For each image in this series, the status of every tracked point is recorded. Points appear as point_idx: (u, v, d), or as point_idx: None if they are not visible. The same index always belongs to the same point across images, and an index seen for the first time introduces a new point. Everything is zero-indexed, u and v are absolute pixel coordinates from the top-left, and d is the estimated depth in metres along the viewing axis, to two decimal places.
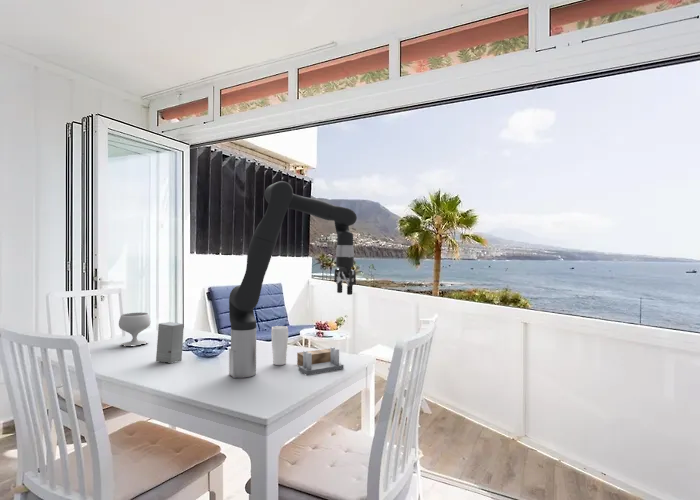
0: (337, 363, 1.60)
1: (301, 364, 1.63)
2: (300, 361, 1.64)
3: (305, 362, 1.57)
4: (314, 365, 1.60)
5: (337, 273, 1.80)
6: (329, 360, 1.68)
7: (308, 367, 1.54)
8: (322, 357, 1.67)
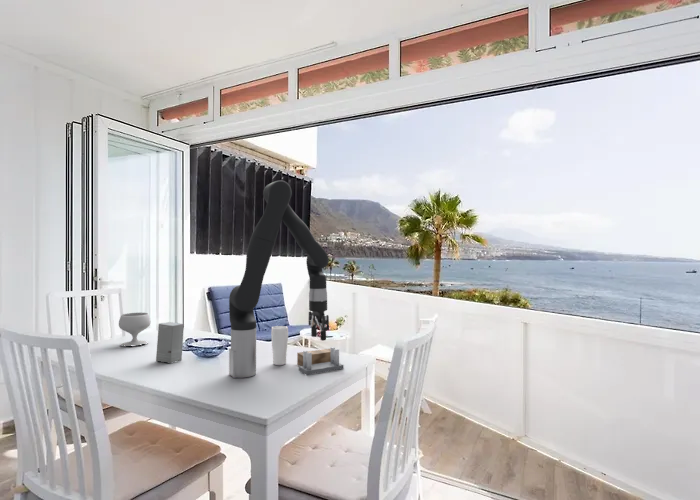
0: (337, 363, 1.60)
1: (301, 364, 1.63)
2: (300, 361, 1.64)
3: (305, 362, 1.57)
4: (314, 365, 1.60)
5: (311, 316, 1.73)
6: (329, 360, 1.68)
7: (308, 367, 1.54)
8: (323, 357, 1.67)
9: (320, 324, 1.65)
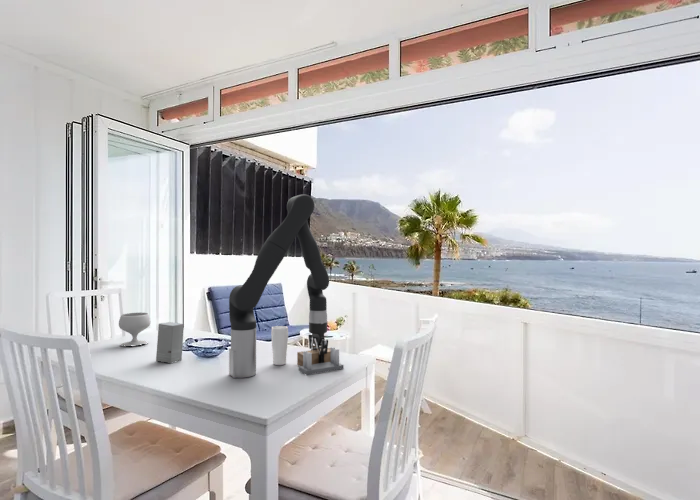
0: (337, 363, 1.60)
1: (301, 363, 1.63)
2: (300, 360, 1.64)
3: (305, 362, 1.57)
4: (314, 365, 1.60)
5: (311, 339, 1.73)
6: (329, 359, 1.68)
7: (308, 367, 1.54)
8: None
9: (319, 347, 1.65)
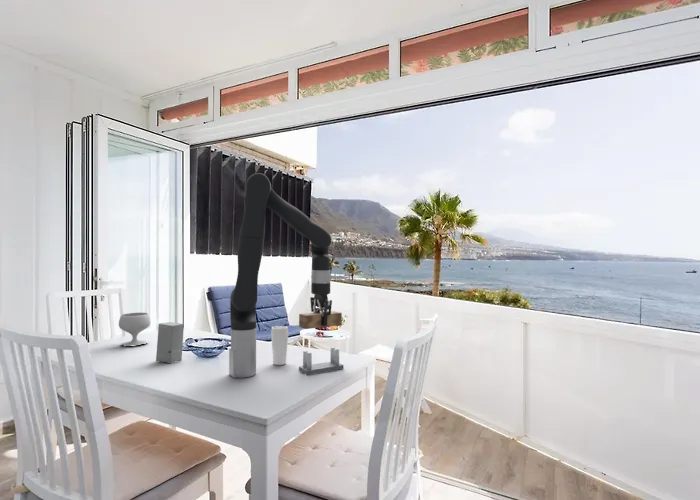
0: (337, 363, 1.60)
1: (303, 325, 1.55)
2: (302, 322, 1.56)
3: (305, 362, 1.57)
4: (314, 365, 1.60)
5: (313, 301, 1.65)
6: (332, 322, 1.61)
7: (308, 367, 1.54)
8: None
9: (322, 309, 1.58)
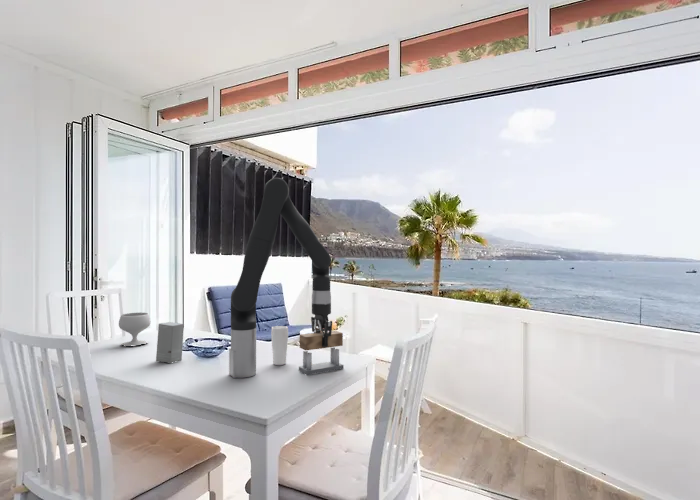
0: (337, 363, 1.60)
1: (304, 346, 1.54)
2: (303, 343, 1.55)
3: (305, 362, 1.57)
4: (314, 365, 1.60)
5: (314, 321, 1.64)
6: (333, 342, 1.59)
7: (308, 367, 1.54)
8: None
9: (322, 329, 1.56)
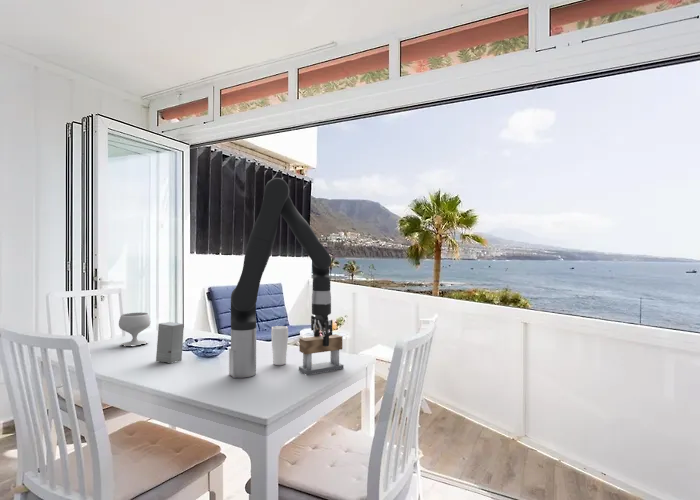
0: (337, 363, 1.60)
1: (304, 350, 1.54)
2: (302, 347, 1.55)
3: (305, 362, 1.57)
4: (314, 365, 1.60)
5: (314, 320, 1.64)
6: (333, 346, 1.59)
7: (308, 367, 1.54)
8: None
9: (323, 329, 1.56)
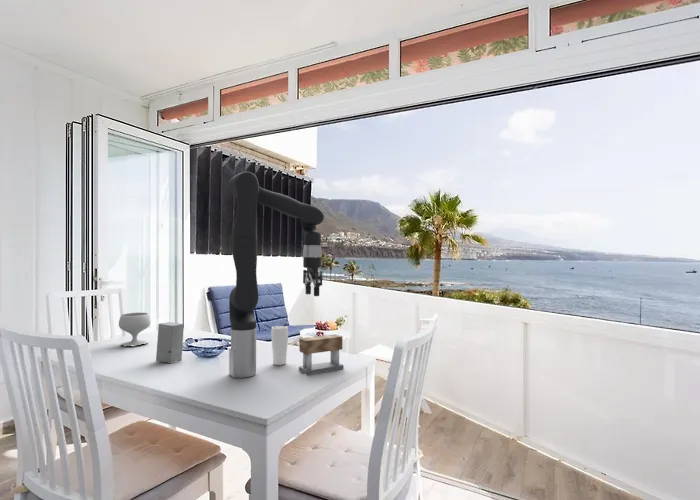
0: (337, 363, 1.60)
1: (304, 350, 1.54)
2: (302, 347, 1.55)
3: (305, 362, 1.57)
4: (314, 365, 1.60)
5: (305, 274, 1.75)
6: (333, 346, 1.59)
7: (308, 367, 1.54)
8: (326, 343, 1.57)
9: (313, 280, 1.66)
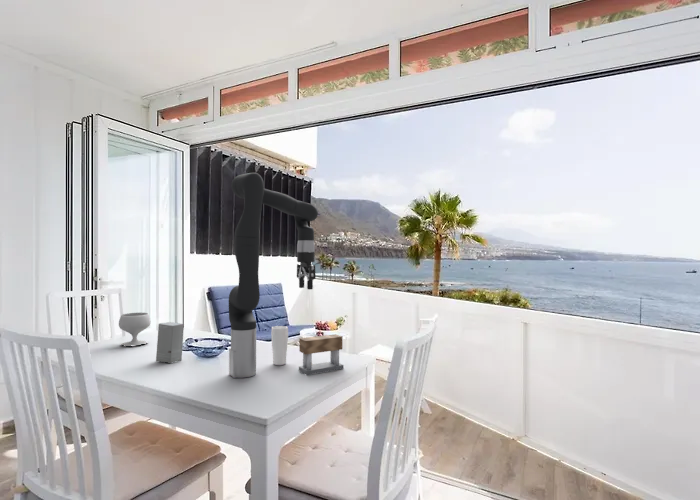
0: (337, 363, 1.60)
1: (304, 350, 1.54)
2: (302, 347, 1.55)
3: (305, 362, 1.57)
4: (314, 365, 1.60)
5: (299, 268, 1.81)
6: (333, 346, 1.59)
7: (308, 367, 1.54)
8: (326, 343, 1.57)
9: (307, 274, 1.73)
